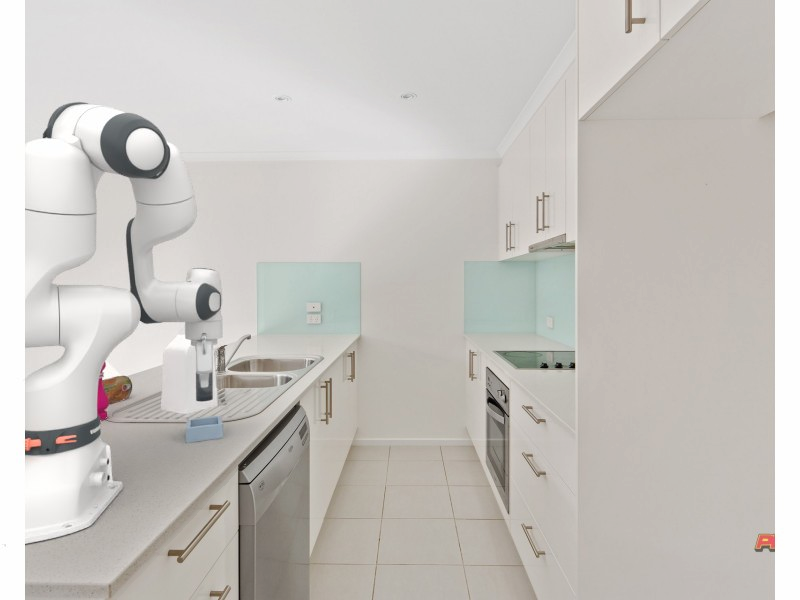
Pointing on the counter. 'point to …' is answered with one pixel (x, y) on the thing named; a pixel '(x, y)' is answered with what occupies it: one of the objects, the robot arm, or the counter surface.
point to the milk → (182, 377)
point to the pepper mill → (102, 397)
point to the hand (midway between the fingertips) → (204, 384)
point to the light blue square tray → (204, 429)
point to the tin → (117, 388)
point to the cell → (204, 389)
